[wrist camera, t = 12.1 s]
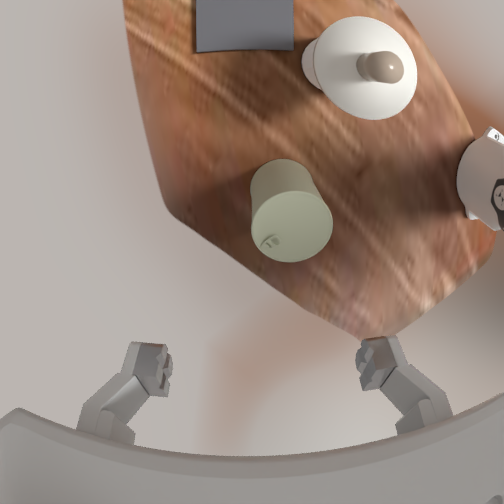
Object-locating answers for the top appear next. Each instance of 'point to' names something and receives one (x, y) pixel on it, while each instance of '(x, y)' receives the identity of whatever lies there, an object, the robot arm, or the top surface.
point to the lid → (365, 68)
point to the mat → (244, 25)
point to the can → (288, 212)
